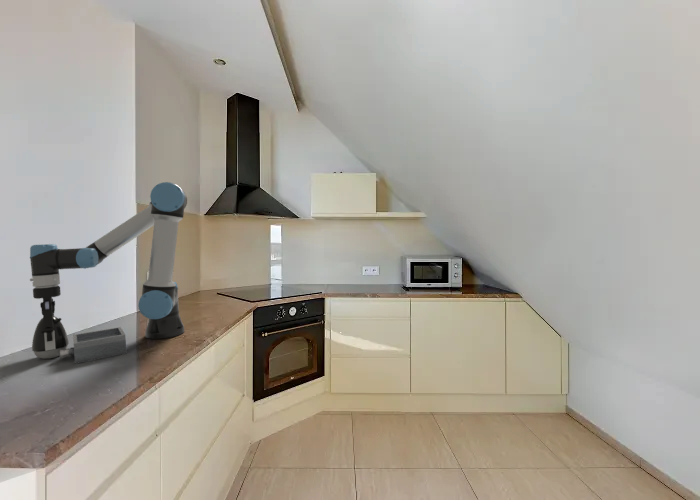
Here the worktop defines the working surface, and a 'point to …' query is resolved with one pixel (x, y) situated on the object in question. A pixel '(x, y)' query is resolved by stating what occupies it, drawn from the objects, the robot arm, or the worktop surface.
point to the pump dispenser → (39, 340)
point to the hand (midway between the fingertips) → (51, 346)
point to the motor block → (96, 345)
